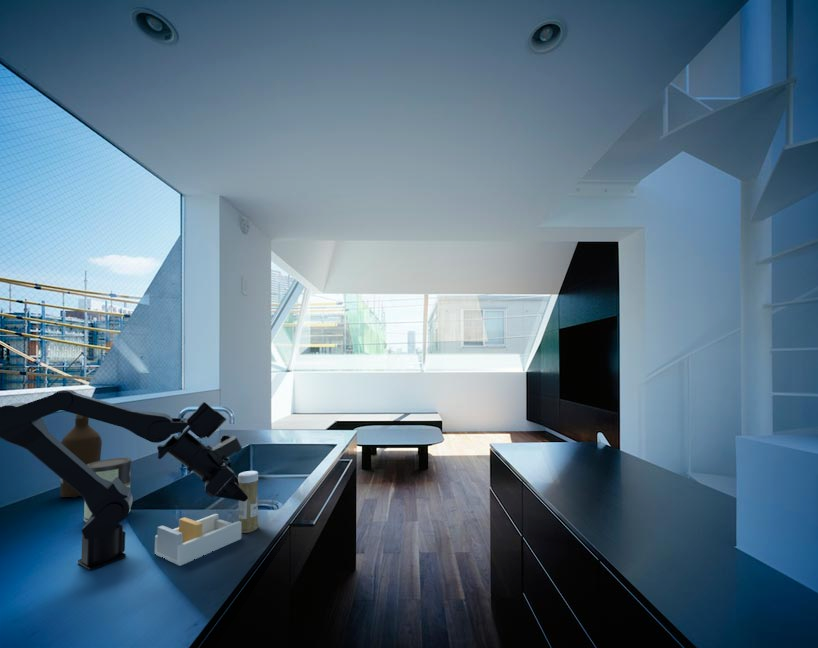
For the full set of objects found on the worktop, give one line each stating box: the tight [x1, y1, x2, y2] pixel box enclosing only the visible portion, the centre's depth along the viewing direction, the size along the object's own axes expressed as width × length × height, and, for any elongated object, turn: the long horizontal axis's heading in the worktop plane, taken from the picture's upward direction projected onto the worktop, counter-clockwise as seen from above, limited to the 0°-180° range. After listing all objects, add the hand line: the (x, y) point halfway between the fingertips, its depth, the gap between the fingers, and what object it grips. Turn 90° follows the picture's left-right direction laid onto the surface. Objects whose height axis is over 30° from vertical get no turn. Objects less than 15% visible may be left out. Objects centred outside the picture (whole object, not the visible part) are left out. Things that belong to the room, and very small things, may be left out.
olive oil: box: [59, 414, 103, 498], centre depth 132 cm, size 11×11×25 cm
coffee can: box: [83, 457, 132, 523], centre depth 112 cm, size 10×10×14 cm
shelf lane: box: [154, 513, 242, 566], centre depth 91 cm, size 14×10×6 cm
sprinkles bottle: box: [237, 470, 259, 534], centre depth 100 cm, size 5×5×14 cm
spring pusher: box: [178, 516, 202, 543], centre depth 90 cm, size 1×7×5 cm, turn 57°
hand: (244, 493), depth 100 cm, fingers open, 9 cm apart
